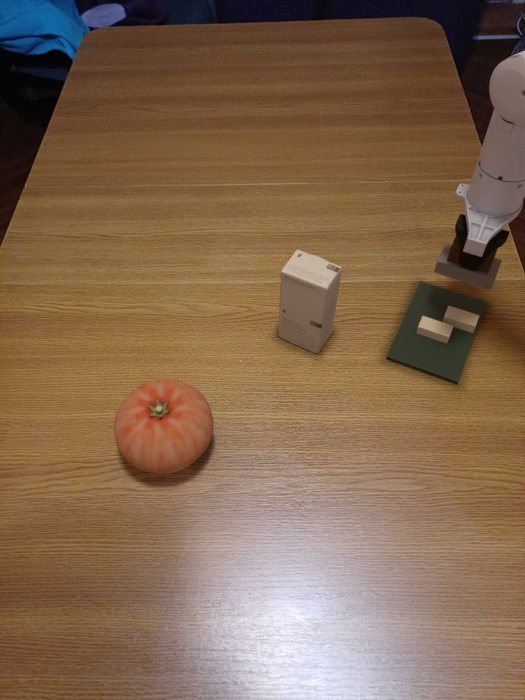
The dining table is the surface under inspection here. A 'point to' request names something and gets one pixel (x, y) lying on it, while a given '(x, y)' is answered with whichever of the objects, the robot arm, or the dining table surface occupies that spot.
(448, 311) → the chalk
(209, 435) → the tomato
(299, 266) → the cosmetic box
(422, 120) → the dining table surface
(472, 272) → the eraser
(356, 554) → the dining table surface
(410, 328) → the slate
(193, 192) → the dining table surface
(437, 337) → the chalk
